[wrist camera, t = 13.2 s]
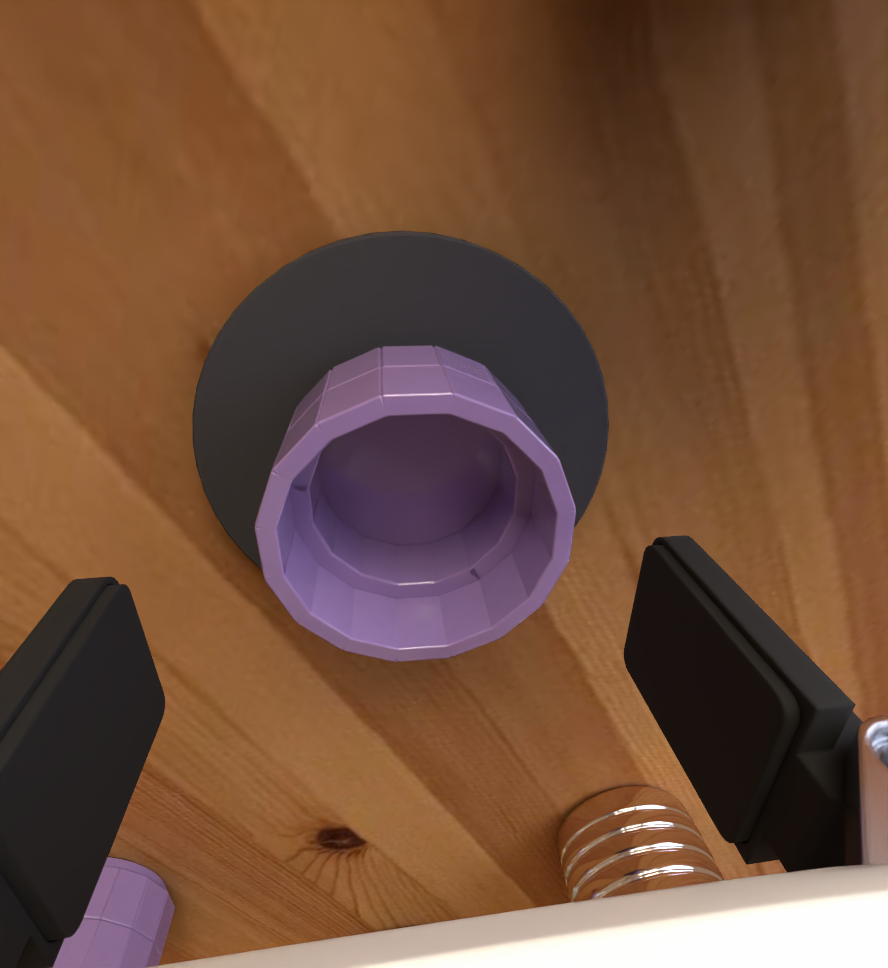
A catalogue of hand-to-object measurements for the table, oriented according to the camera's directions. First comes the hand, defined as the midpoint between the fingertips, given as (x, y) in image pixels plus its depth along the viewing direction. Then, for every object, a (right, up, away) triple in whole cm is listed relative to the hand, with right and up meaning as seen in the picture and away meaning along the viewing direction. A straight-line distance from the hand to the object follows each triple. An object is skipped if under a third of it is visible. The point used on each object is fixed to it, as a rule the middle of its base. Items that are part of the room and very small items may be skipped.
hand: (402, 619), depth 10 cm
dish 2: (0, +3, +6) cm, 7 cm away
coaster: (0, +4, +7) cm, 7 cm away
